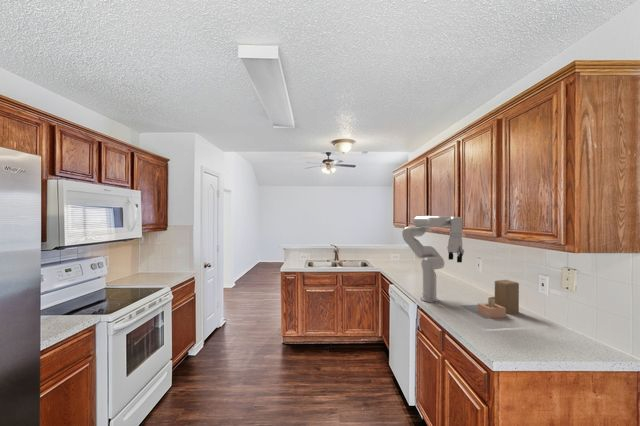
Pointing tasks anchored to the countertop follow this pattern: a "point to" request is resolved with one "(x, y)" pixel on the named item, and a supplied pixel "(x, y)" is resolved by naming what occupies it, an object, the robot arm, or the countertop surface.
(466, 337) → the countertop surface
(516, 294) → the wooden block
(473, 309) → the charcoal mat
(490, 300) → the birch dowel
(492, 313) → the terracotta box
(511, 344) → the countertop surface
